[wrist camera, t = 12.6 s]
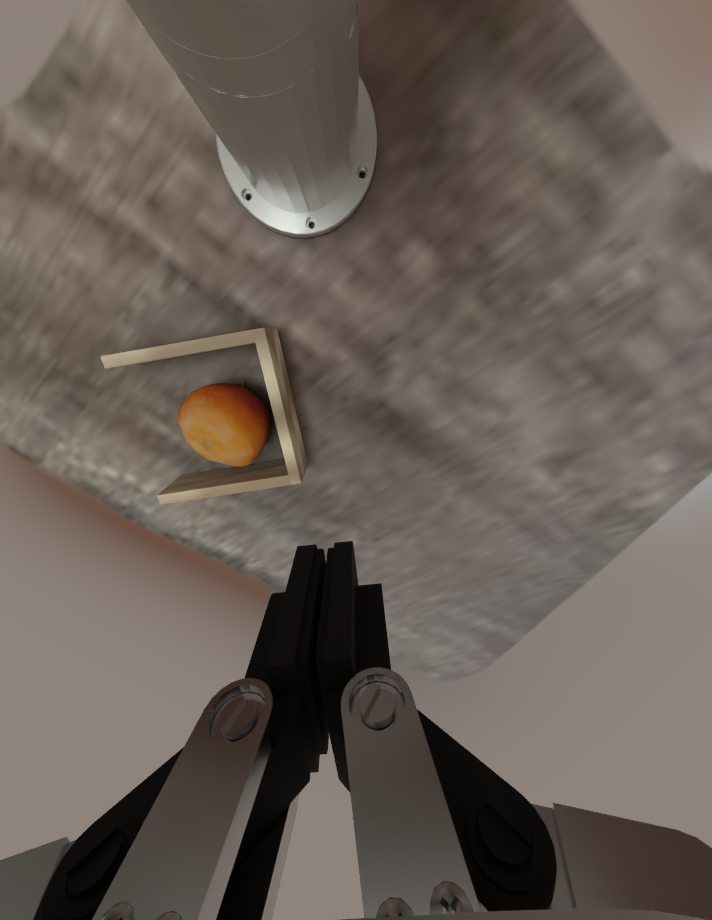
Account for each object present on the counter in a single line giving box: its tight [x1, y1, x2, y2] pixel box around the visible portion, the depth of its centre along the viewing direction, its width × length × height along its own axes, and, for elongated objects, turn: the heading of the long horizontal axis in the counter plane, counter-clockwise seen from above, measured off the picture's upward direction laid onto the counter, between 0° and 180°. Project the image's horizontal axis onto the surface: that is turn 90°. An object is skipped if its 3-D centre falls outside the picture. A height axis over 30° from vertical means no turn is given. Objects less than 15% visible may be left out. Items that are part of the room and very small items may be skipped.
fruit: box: [178, 380, 270, 467], centre depth 32 cm, size 8×8×8 cm
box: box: [100, 328, 308, 505], centre depth 33 cm, size 14×14×5 cm
